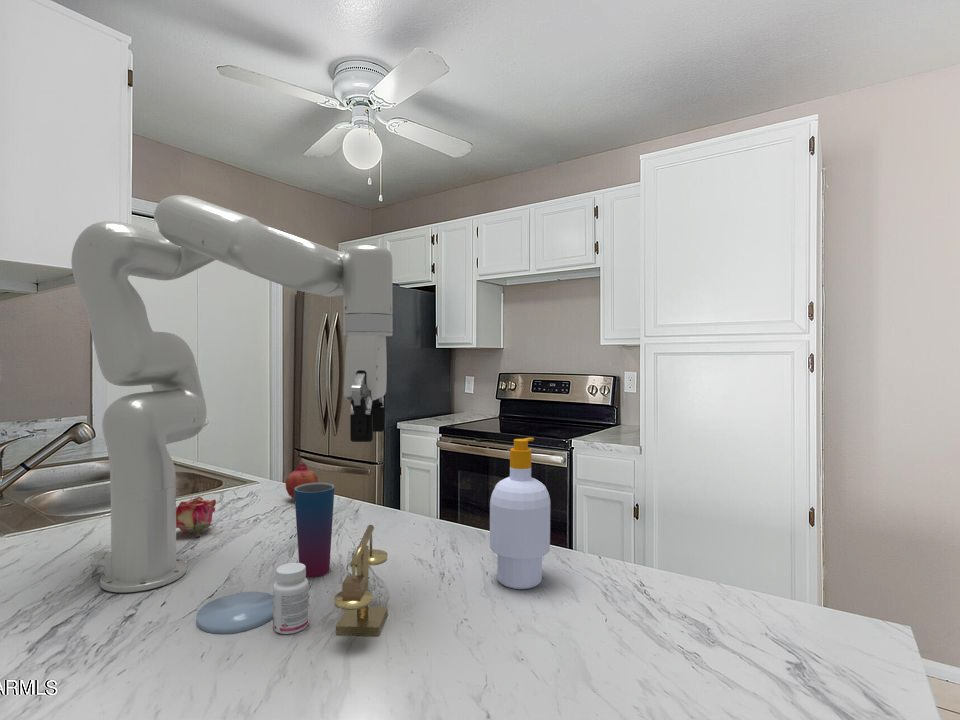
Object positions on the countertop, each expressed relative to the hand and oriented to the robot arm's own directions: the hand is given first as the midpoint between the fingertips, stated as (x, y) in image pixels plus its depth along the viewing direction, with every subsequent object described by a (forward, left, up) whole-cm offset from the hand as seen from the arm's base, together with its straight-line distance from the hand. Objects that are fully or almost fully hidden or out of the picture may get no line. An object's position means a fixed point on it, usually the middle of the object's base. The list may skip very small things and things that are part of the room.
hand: (368, 436), depth 87 cm
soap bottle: (+24, +8, -26) cm, 36 cm away
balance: (+1, -8, -26) cm, 27 cm away
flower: (-44, +28, -26) cm, 58 cm away
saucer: (-18, -6, -26) cm, 32 cm away
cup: (-12, +10, -26) cm, 30 cm away
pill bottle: (-9, -9, -26) cm, 29 cm away
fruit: (-30, +54, -26) cm, 67 cm away
